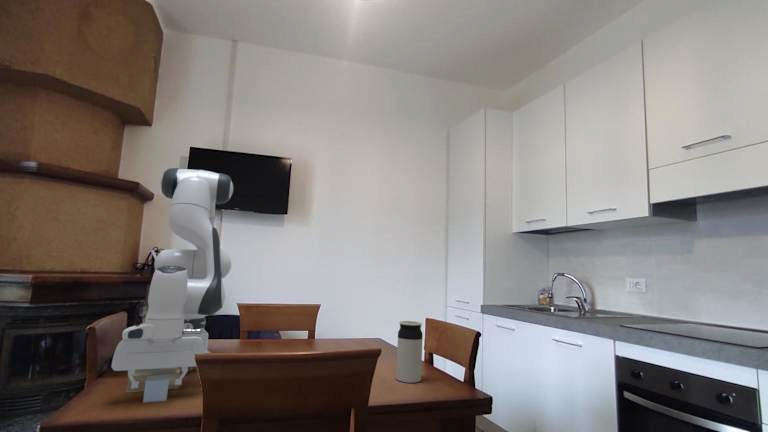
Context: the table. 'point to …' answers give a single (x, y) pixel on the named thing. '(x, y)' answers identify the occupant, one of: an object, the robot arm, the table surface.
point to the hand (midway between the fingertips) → (156, 386)
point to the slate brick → (156, 388)
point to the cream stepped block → (144, 373)
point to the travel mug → (409, 352)
